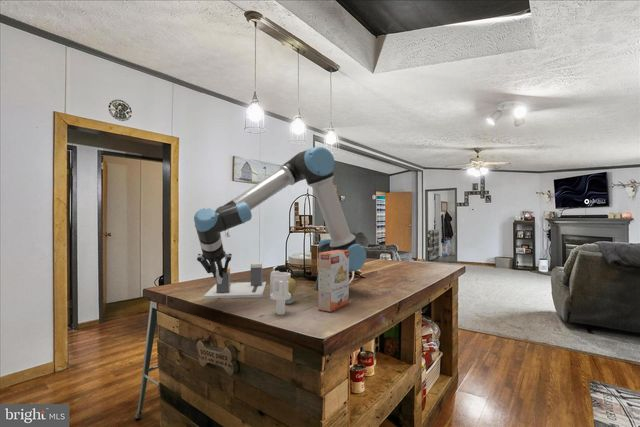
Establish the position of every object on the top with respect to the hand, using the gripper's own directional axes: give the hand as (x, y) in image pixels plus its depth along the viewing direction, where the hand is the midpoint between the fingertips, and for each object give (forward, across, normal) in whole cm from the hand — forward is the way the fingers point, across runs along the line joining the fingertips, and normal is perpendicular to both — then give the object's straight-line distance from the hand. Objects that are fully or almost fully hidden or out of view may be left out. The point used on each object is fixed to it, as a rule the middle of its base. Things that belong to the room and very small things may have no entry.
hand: (220, 281), depth 138 cm
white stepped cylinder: (-12, -25, +22) cm, 36 cm away
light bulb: (-3, -28, +13) cm, 31 cm away
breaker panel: (+14, -5, -4) cm, 16 cm away
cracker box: (-8, -45, +18) cm, 49 cm away
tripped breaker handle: (+8, 0, 0) cm, 8 cm away
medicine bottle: (+9, -25, +1) cm, 26 cm away
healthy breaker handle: (+17, -13, -9) cm, 23 cm away
